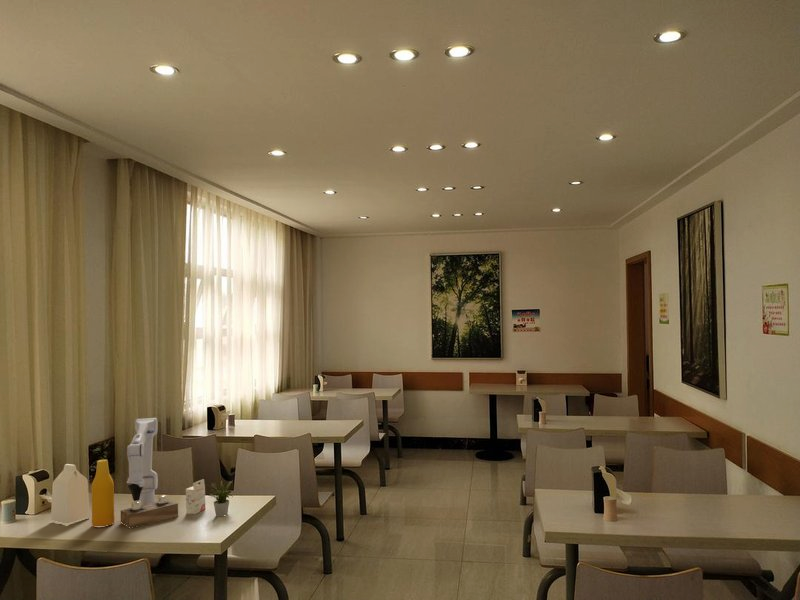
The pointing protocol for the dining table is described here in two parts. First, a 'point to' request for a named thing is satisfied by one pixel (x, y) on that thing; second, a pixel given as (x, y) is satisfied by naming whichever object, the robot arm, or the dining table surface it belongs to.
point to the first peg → (136, 506)
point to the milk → (70, 496)
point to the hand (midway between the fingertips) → (136, 500)
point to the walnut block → (149, 513)
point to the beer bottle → (102, 496)
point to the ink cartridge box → (195, 498)
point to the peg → (162, 500)
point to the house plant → (221, 499)
